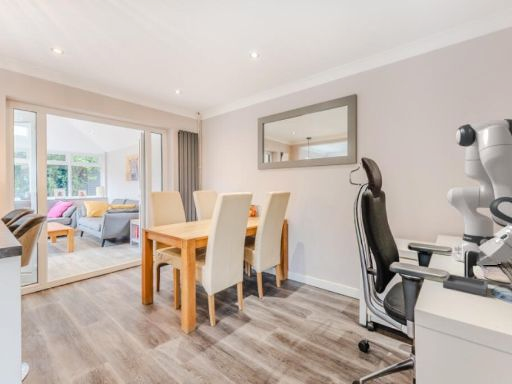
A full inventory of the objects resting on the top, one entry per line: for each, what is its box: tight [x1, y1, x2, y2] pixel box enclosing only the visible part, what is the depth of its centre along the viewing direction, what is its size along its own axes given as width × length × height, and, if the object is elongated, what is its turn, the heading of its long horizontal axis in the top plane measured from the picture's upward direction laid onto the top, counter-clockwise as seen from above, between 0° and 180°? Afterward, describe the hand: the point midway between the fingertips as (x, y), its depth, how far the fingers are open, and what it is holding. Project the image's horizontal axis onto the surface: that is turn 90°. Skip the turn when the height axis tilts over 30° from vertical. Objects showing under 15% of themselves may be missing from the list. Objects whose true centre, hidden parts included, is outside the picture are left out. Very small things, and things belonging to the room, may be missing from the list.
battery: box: [463, 250, 479, 279], centre depth 101 cm, size 7×4×11 cm, turn 130°
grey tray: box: [442, 273, 488, 298], centre depth 92 cm, size 12×12×2 cm
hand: (475, 262), depth 101 cm, fingers open, 8 cm apart
